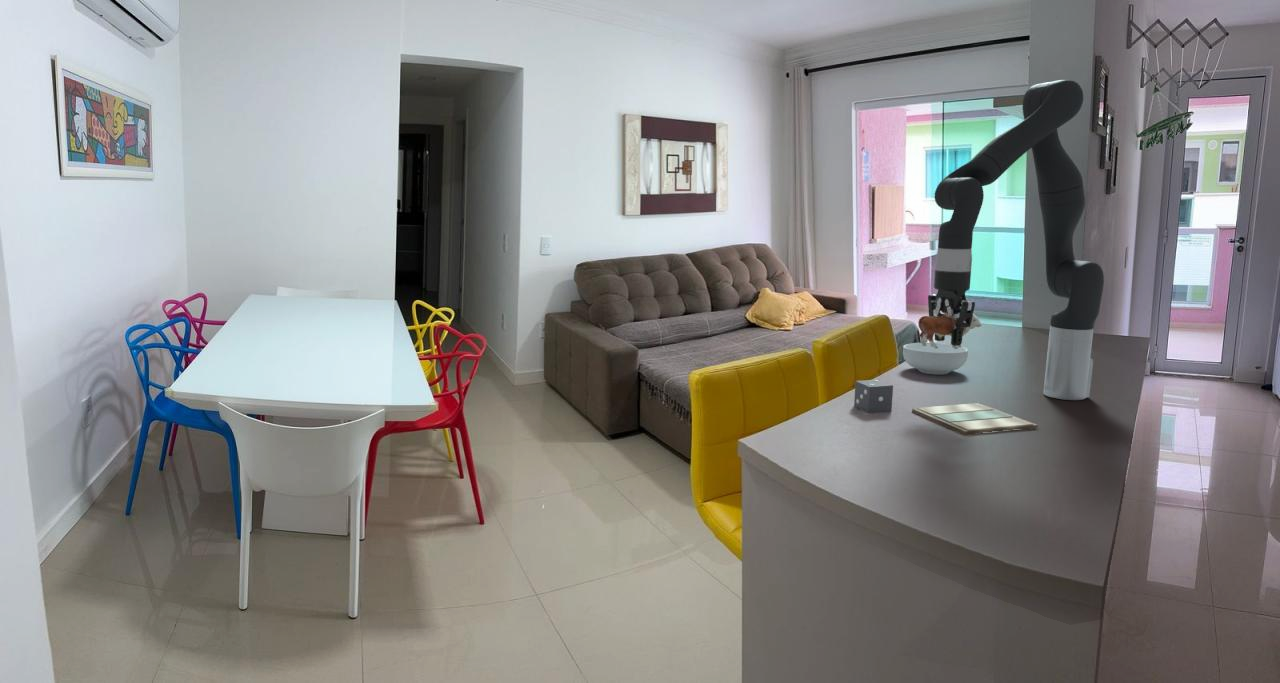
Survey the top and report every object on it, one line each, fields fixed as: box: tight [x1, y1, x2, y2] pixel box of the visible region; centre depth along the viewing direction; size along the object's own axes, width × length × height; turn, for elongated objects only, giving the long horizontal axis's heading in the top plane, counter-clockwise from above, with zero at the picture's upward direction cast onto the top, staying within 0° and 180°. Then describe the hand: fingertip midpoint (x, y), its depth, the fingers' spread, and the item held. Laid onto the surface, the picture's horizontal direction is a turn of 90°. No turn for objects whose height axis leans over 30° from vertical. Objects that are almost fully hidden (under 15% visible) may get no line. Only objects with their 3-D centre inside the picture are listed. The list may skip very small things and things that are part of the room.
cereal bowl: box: [902, 342, 969, 376], centre depth 216 cm, size 17×17×7 cm
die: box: [853, 379, 894, 414], centre depth 177 cm, size 6×6×6 cm
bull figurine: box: [917, 312, 983, 349], centre depth 175 cm, size 4×13×8 cm, turn 77°
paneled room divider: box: [911, 402, 1039, 436], centre depth 169 cm, size 18×18×1 cm
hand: (947, 342), depth 176 cm, fingers closed on bull figurine, 5 cm apart
